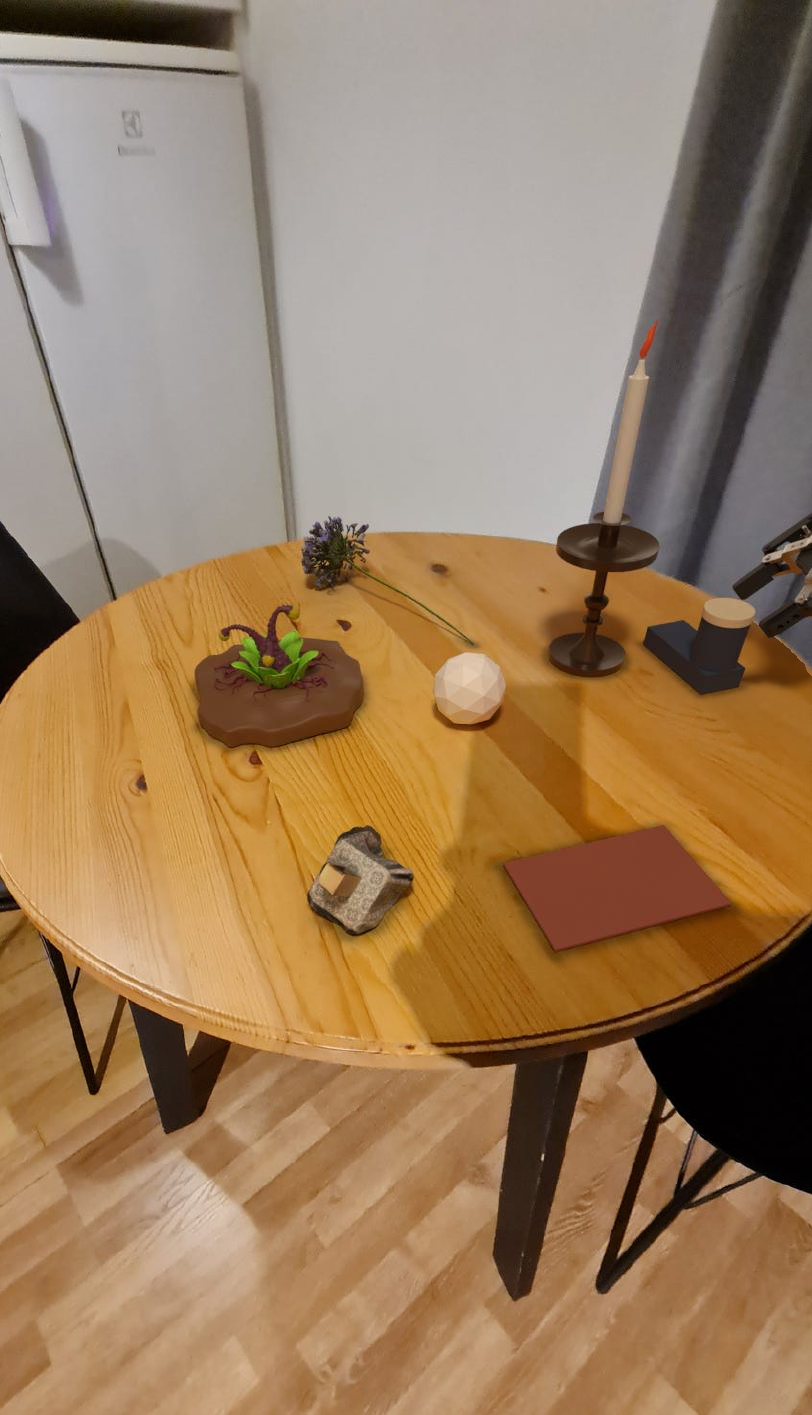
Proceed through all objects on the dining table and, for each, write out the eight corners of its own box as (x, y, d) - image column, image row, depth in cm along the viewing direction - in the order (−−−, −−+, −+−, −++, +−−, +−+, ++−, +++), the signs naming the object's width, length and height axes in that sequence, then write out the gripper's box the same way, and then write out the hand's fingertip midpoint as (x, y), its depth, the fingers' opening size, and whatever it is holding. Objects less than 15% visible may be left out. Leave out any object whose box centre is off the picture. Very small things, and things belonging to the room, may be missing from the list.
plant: (379, 732, 82) (377, 641, 75) (201, 758, 80) (181, 668, 73) (347, 643, 97) (342, 560, 89) (196, 664, 95) (178, 580, 87)
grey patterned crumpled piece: (439, 828, 66) (378, 879, 56) (431, 898, 68) (371, 957, 58) (357, 807, 69) (286, 851, 59) (352, 874, 72) (283, 927, 62)
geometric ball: (480, 744, 84) (504, 721, 77) (415, 717, 84) (432, 691, 76) (500, 686, 86) (526, 658, 78) (436, 659, 86) (456, 628, 78)
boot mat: (662, 827, 69) (663, 824, 69) (730, 906, 62) (732, 902, 62) (503, 866, 67) (503, 863, 66) (554, 952, 60) (555, 949, 59)
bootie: (740, 687, 86) (766, 615, 80) (700, 695, 85) (723, 623, 79) (679, 637, 94) (698, 569, 88) (642, 644, 94) (659, 576, 88)
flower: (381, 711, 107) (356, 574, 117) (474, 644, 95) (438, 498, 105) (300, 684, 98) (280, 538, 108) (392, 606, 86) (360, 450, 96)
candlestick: (615, 632, 96) (685, 307, 72) (644, 677, 88) (734, 328, 64) (531, 638, 96) (574, 314, 72) (553, 684, 88) (609, 336, 64)
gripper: (857, 450, 77) (711, 561, 85) (930, 502, 66) (754, 622, 75) (888, 502, 80) (744, 603, 88) (962, 559, 69) (790, 667, 78)
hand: (749, 612), depth 81 cm, fingers open, 8 cm apart
